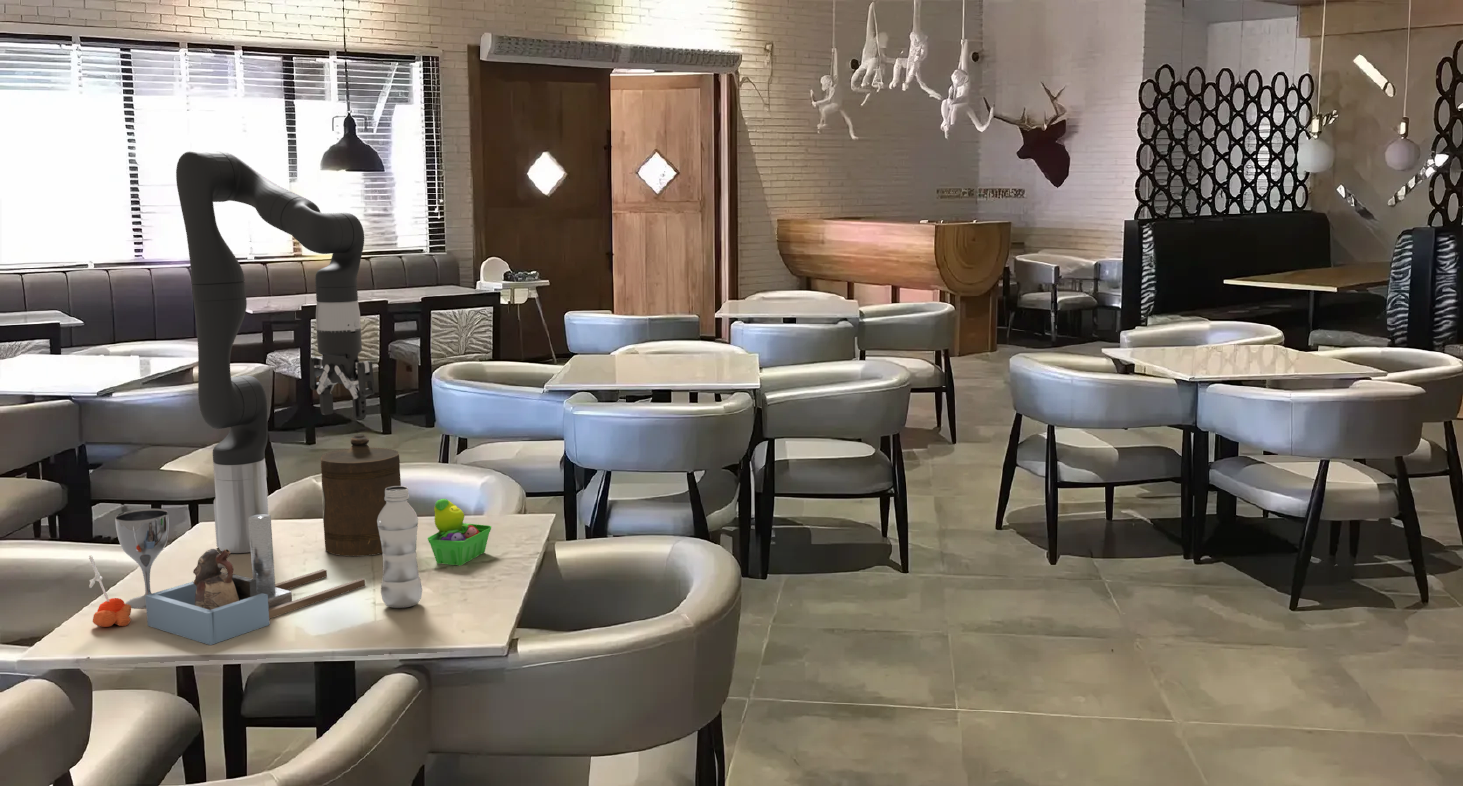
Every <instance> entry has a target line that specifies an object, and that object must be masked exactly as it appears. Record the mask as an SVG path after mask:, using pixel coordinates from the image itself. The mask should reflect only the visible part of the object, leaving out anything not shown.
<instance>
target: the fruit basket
mask: <svg viewBox="0 0 1463 786" xmlns="http://www.w3.org/2000/svg"><path fill="white" fill-rule="evenodd" d="M434 504H435V505H434V509H433V510H434V524H435V527H436V529H437V530H438V531H437V532H436V533H433V534H432V535H430V536H428V537H427V541H428V543H429V545H430V547H431V551H432V554H433V556H434V558H435V563H436V564H437V565H439V564H443V565H449V566H450V565H451V566H459V567H462V566H463V565H464V564H466V563H468V562H470V561H472V560H473V559H475V558H478V557H479V556H480V555H483V554H485V552H486V549H487V548H486V547H487V544H488V539H489V535H490V532H491V530H492V526H491V525H487V524H477V523H466V522H464V519H465V514H464V513H465V512H463V510H462V509H461V508H459V506H457V505H456V504H454V503H453V502H451V501H450V500H449V499H446V498H440V499H438V500H436V501H435V503H434Z"/></svg>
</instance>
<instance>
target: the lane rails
mask: <svg viewBox="0 0 1463 786" xmlns="http://www.w3.org/2000/svg"><path fill="white" fill-rule="evenodd" d="M327 577H328V574H327V570H326V569H319V570H316V571H312V572H310V573H307V574H303V575H300V576H297V577H294V578H291V579H287V580H284V581H280V582H278V583H275V587H276V588H280V589H284V590H289V589H293V588H295V587H298V586H302V585H305V584H308V583H312V582H315V581H318V580H320V579H323V578H327ZM365 586H366V579H364V578H358V579H356V580H352V581H349V582H346V583H343V584H339V585H336V586H333V587H331V588H328V589H325V590H322V591H318V592H316V593H315V592H314V593H313V594H310V595H307V596H304V597H300V598H298V599H294V600H292V601H291V602H288V603H285V604H282V605H279V606H276V607H273V608H270V609H269V619H272V618H275V617H279V616H280V615H283V614H286V613H287V614H288V613H290V612H293V611H295V610H298V609H302V608H304V607H307V606H310V605H313V604H316V603H320V602H321V601H325V600H328V599H331V598H334V597H337V596H340V595H342V594H346V593H348V592H351V591H354V590H358V589H361V588H363V587H365Z"/></svg>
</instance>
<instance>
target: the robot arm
mask: <svg viewBox="0 0 1463 786" xmlns="http://www.w3.org/2000/svg"><path fill="white" fill-rule="evenodd" d="M175 170H176V171H175V178H176V188H177V192H178V193H177V194H178V199H179V204H180V209H181V213H182V217H183V218H182V219H183V222H184V227H185V232H186V239H187V240H186V241H187V249H188V255H189V266H190V277H191V290H192V300H193V307H194V308H193V309H194V315H195V324H196V325H195V326H196V337H197V352H198V353H197V355H198V356H197V359H198V360H197V361H198V362H197V366H198V369H197V371H198V372H197V377H198V378H197V379H198V381H197V383H198V385H197V387H198V388H197V390H198V391H197V392H198V393H197V395H198V396H197V397H198V405H199V410H200V413H201V417H202V418H203V420H204V422H205V423H206V424H207V425H208V426H209V427H211V428H212V429H216V430H219V429H226V428H230V429H229V431H228V434H227V435H226V436H225V437H224V439H222V440H221V441H219V442H218V444H215V446H214V447H213V448H212V463H213V464H212V465H213V476H214V477H213V478H214V479H213V480H214V491H215V493H214V494H215V498H214V500H213V511H214V512H213V513H214V525H215V526H214V527H215V539H216V540H215V541H216V542H215V543H216V548H219V549H218V550H220V551H221V553H222V552H223V551H224V550H225V549H228V550H229V551H230V554H243V553H244V554H245V553H251V547H250V532H249V517H250V516H254V515H260V514H267V515H269V501H268V499H269V498H268V487H267V472H266V458H265V456H266V455H265V453H266V452H265V450H266V448H267V444H268V433H269V432H268V431H269V430H268V400H267V394H266V390H265V387H264V386H263V385H262V383H261V381H260V380H259V379H258V378H256V377H254V376H252V375H238V376H232V375H231V373H232V372H231V355H232V349H233V344H234V342H235V339H236V337H237V335H238V333H239V331H240V329H241V327H242V324H243V321H244V319H245V316H246V312H247V307H248V306H247V305H248V303H247V290H246V282H245V276H244V275H245V274H244V271H243V267H242V266H241V264H240V262H239V261H238V259H237V257H236V256H235V254H234V253H233V251H232V250H231V249H230V247H229V245H228V244H227V242H226V241H225V240H224V238H223V236H222V234H221V232H220V230H219V228H218V224H217V220H216V213H215V208H214V203H223V202H224V203H225V202H228V201H232V202H238V203H242V204H245V205H248V206H250V207H252V208H253V209H255V210H256V212H257V214H258V215H259V217H260V218H261V219H262V220H263V221H265V222H266V224H269V225H270V226H271V227H274V228H275V229H277V230H279V231H282V232H284V233H286V234H288V235H290V236H292V237H293V238H294V239H295V240H296V241H297V242H298V243H300V245H301V246H303V247H304V248H305V249H306V250H308V251H310V252H313V253H316V254H321V255H330V254H331V259H330V262H329V264H328V265H327V266H325V267H322V268H320V269H318V270H317V272H315V277H314V278H315V279H314V280H315V281H314V282H315V294H316V295H315V298H316V308H315V324H316V328H315V329H316V345H317V353H318V354H320V355H321V356H313V357H310V358H309V387H310V388H309V389H311V391H316V392H317V394H318V395H319V408H320V412H321V413H320V414H321V415H324V416H327V415H332V414H334V397H333V396H334V395H333V393H332V392H333V390H334V388H335V386H336V385H337V384H340V385H343V386H344V387H345V389H347V390H348V391H349V392H350V394H351V396H352V417H353V420H359V421H360V420H364V419H366V416H367V397H369V396H370V395H375V393H376V392H375V390H376V389H375V380H374V369H373V363H372V361H371V360H366V361H360V359H359V354H360V353H361V352H362V350H363V348H362V347H363V346H362V345H363V344H362V343H363V342H362V326H361V311H360V305H359V299H358V298H359V295H358V281H357V280H358V274H359V269H360V266H361V260H362V255H363V251H364V246H365V231H364V228H363V225H362V223H361V221H360V220H359V218H358V217H357V216H356V215H354V214H353V213H350V212H349V213H348V212H321V210H320V208H319V207H318V205H317V204H316V203H314V202H313V201H311V200H310V199H307V198H306V197H303V196H301V195H299V194H297V193H295V192H293V191H290V190H288V189H287V188H283V187H282V186H280V185H277V184H276V183H274V182H273V181H271V180H269V179H268V178H266V176H264V175H262V174H261V173H259V172H258V171H256V170H254V168H252V167H251V166H250V165H249V164H247V163H246V162H244V161H243V160H241V159H240V158H239V157H237V156H235V155H233V154H232V153H229V152H224V151H208V150H207V151H204V150H190V151H186V152H184V153H182V154H181V156H179V158H178V161H177V164H176V169H175ZM317 377H318V382H317ZM366 382H367V383H366ZM366 384H367V388H366ZM357 389H358V390H357Z"/></svg>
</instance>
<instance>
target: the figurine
mask: <svg viewBox="0 0 1463 786" xmlns="http://www.w3.org/2000/svg"><path fill="white" fill-rule="evenodd" d="M230 554H231V553H230V551H229V550H228V549H225V550H224V551H223V552H222V551H221V552H219V551H218V550H217V549H216V548H210V549H208V550H206V551H205V552H204V553H203V554H201V556H200V557H199V558H198V560H197V564H196V567H194V569H193V571H192V572H193V574H194V575H195V578H194V580H193V581H194V582H193V581H192V582H193V584H195V585H196V586H197V589H196V593H195V606H198V607H201V608H205V609H208V610H212V609H215V608H218V607H221V606H224V605H227V604H230V603H234V602H237V601H239V598H238V594H237V591H236V588H235V585H234V583H233V581H232V577H233V574H234V566H233V564H232V562H230V561H229V560H228V557H229V556H230ZM223 569H225V570H226V572H227V573H228V575H227V574H226V573H225V572H223V571H222V570H223Z"/></svg>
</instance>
